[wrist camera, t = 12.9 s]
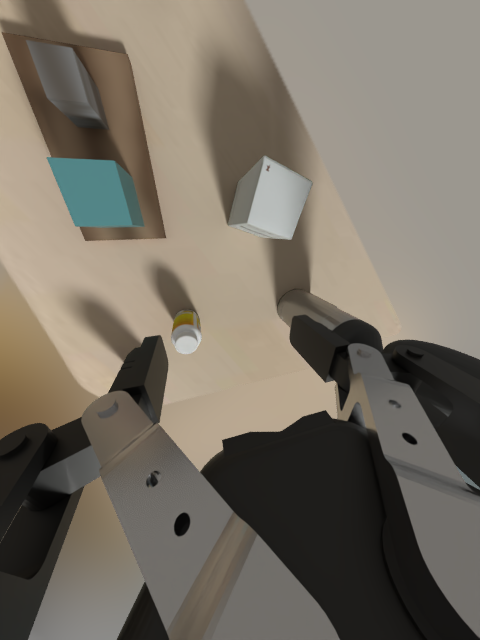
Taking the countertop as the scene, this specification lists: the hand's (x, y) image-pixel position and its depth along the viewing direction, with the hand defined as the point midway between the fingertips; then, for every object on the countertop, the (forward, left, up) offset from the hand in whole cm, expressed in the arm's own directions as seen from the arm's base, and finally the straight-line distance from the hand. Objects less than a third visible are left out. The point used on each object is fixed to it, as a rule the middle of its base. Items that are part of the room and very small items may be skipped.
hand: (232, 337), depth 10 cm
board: (+12, -15, -28) cm, 34 cm away
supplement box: (-10, -9, -28) cm, 31 cm away
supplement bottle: (+5, +12, -28) cm, 31 cm away
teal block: (+12, -10, -27) cm, 31 cm away
